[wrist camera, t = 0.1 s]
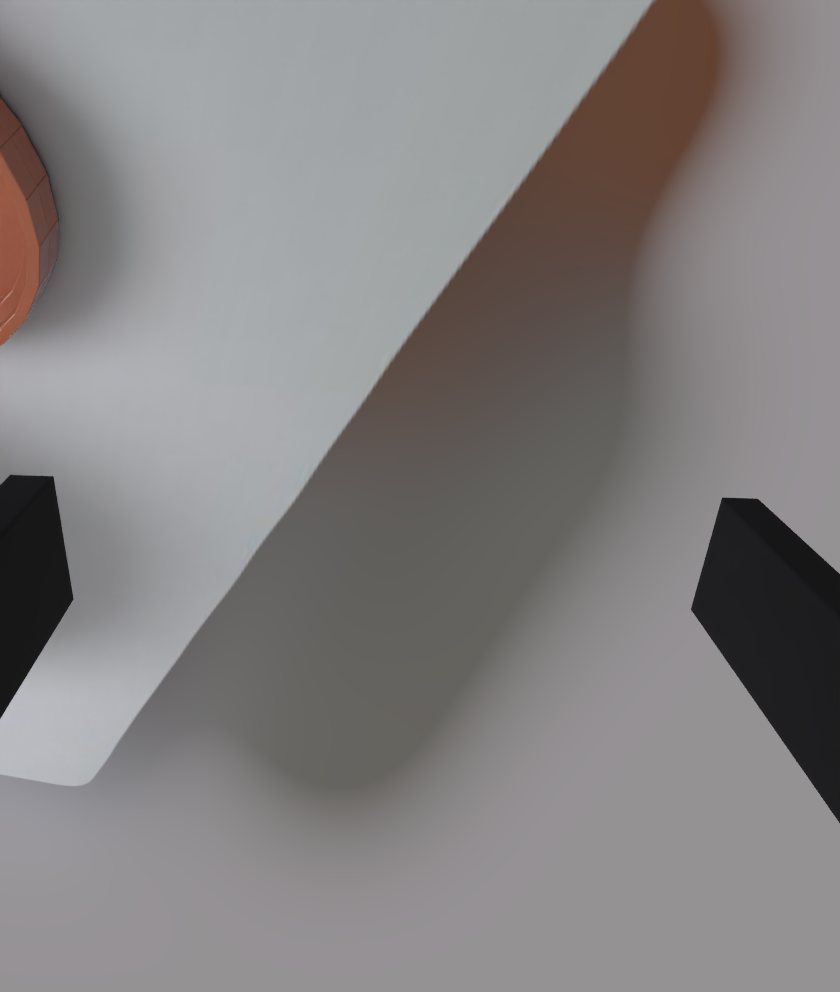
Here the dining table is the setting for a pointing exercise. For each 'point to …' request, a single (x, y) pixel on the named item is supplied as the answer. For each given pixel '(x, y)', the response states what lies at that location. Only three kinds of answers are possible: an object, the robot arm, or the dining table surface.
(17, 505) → the robot arm
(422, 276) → the dining table surface
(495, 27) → the dining table surface
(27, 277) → the terracotta bowl
